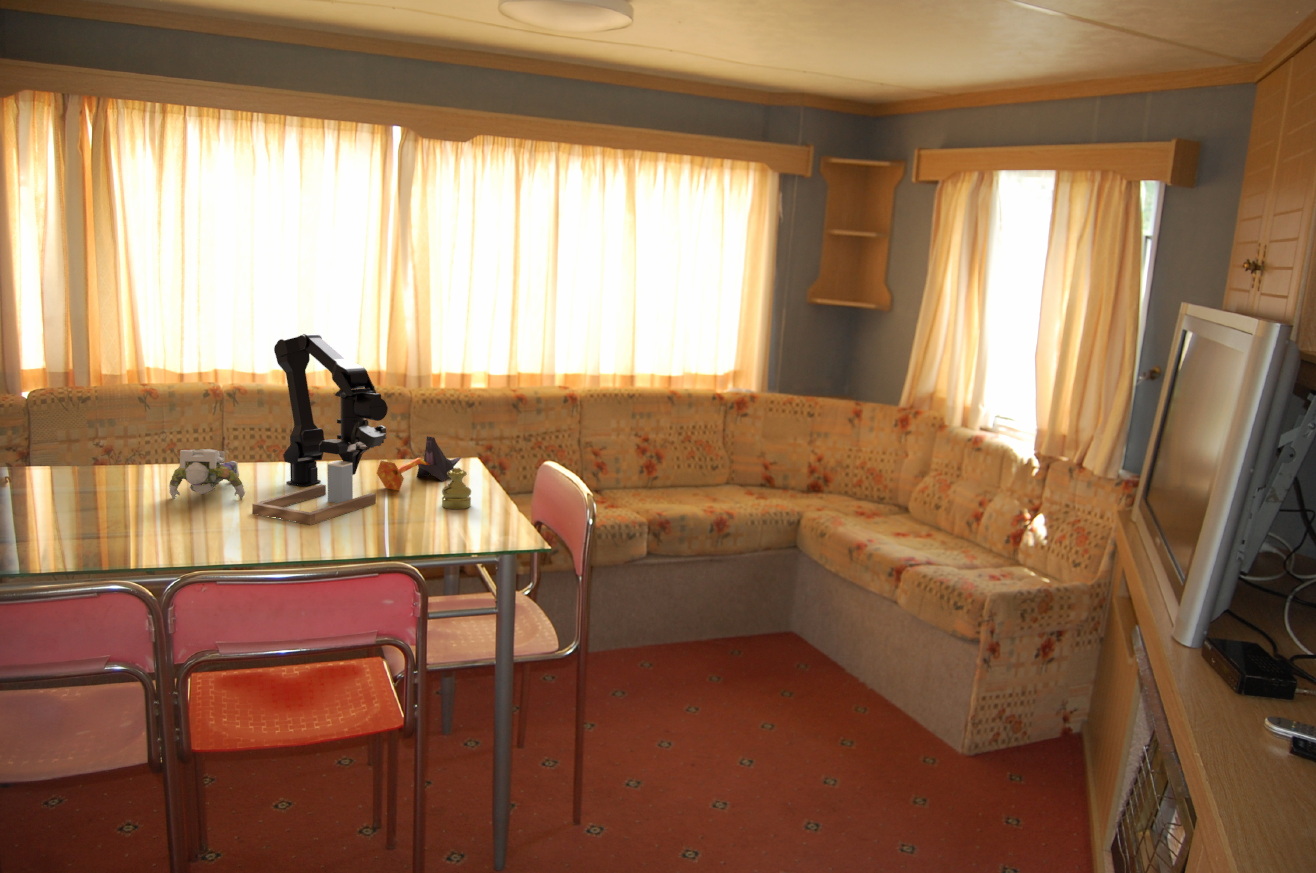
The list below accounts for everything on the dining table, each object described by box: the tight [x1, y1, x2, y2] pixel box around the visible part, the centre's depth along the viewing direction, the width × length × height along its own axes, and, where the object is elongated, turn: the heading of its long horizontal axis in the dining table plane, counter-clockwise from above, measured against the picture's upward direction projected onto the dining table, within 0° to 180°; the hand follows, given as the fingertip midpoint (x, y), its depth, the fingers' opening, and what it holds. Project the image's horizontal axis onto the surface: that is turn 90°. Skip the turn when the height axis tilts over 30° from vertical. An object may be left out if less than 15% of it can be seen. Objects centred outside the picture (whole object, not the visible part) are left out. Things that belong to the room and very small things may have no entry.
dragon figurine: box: [376, 436, 462, 492], centre depth 260 cm, size 10×12×25 cm
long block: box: [327, 460, 354, 504], centre depth 235 cm, size 4×4×10 cm
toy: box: [168, 448, 246, 500], centre depth 234 cm, size 18×12×30 cm
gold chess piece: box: [441, 467, 472, 510], centre depth 237 cm, size 7×7×10 cm
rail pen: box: [251, 484, 377, 526], centre depth 228 cm, size 18×24×2 cm
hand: (352, 474), depth 240 cm, fingers closed
